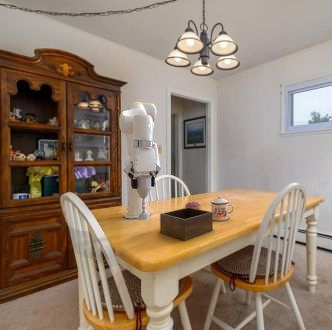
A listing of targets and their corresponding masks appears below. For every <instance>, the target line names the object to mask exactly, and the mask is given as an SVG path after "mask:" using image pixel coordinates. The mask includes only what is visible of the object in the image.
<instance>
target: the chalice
mask: <svg viewBox="0 0 332 330" xmlns="http://www.w3.org/2000/svg"><path fill="white" fill-rule="evenodd" d="M151 177H152V175H139V176H137V177H136V179H137V189H136V190H137V192H138V194H139V196H140V198H142V209H143V211H142V213H140V214H139V216H138V218H137V220H138V221H148V220H149V219H151V216H150V215H148V213H147V212H146V211H145V207H146V206H145V203H146V202H145V198H146V197H147V198H148V196H149V194H150V192H151V189H152V187H151Z"/></svg>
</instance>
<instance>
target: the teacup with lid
mask: <svg viewBox="0 0 332 330" xmlns="http://www.w3.org/2000/svg"><path fill="white" fill-rule="evenodd" d="M210 205H211V206H210V208H211V209H210V212H213V221H217V222H218V221H219V222H220V221H226V220H228V219H229V215H230V214H232V213H233V212H234V210H235V206H234V205H233V204H232V203H229V200H227V199H225V198H223V196H222V195H218V196H217V197H216V198H215V199H212V200H211V201H210ZM229 206H230V207H232V208H231V210H230V211H229Z"/></svg>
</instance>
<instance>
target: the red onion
mask: <svg viewBox="0 0 332 330" xmlns="http://www.w3.org/2000/svg"><path fill="white" fill-rule="evenodd" d="M189 201H190V202H187V203H186V204H185V206H184V208H187V207H189V208H194V209H199V210H201V208H202V207H201V206H202V205H201V204H200V203H199V202H198V201H192V195H191V194H189Z"/></svg>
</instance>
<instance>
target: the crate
mask: <svg viewBox="0 0 332 330" xmlns="http://www.w3.org/2000/svg"><path fill="white" fill-rule="evenodd" d="M213 222H214V220H213V212H211V211H208V210H204V209H194V208H189V207H187V208H185V207H183V208H178V209H174V210H170V211H166V212H161V213H159V234H163V235H166V236H169V237H172V238H175V239H178V240H181V241H184V242H186V241H189V240H191V239H194V238H196V237H199V236H202V235H204V234H206V233H207V234H208V233H209V232H212V231H213V229H214V227H213V226H214V224H213Z"/></svg>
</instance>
